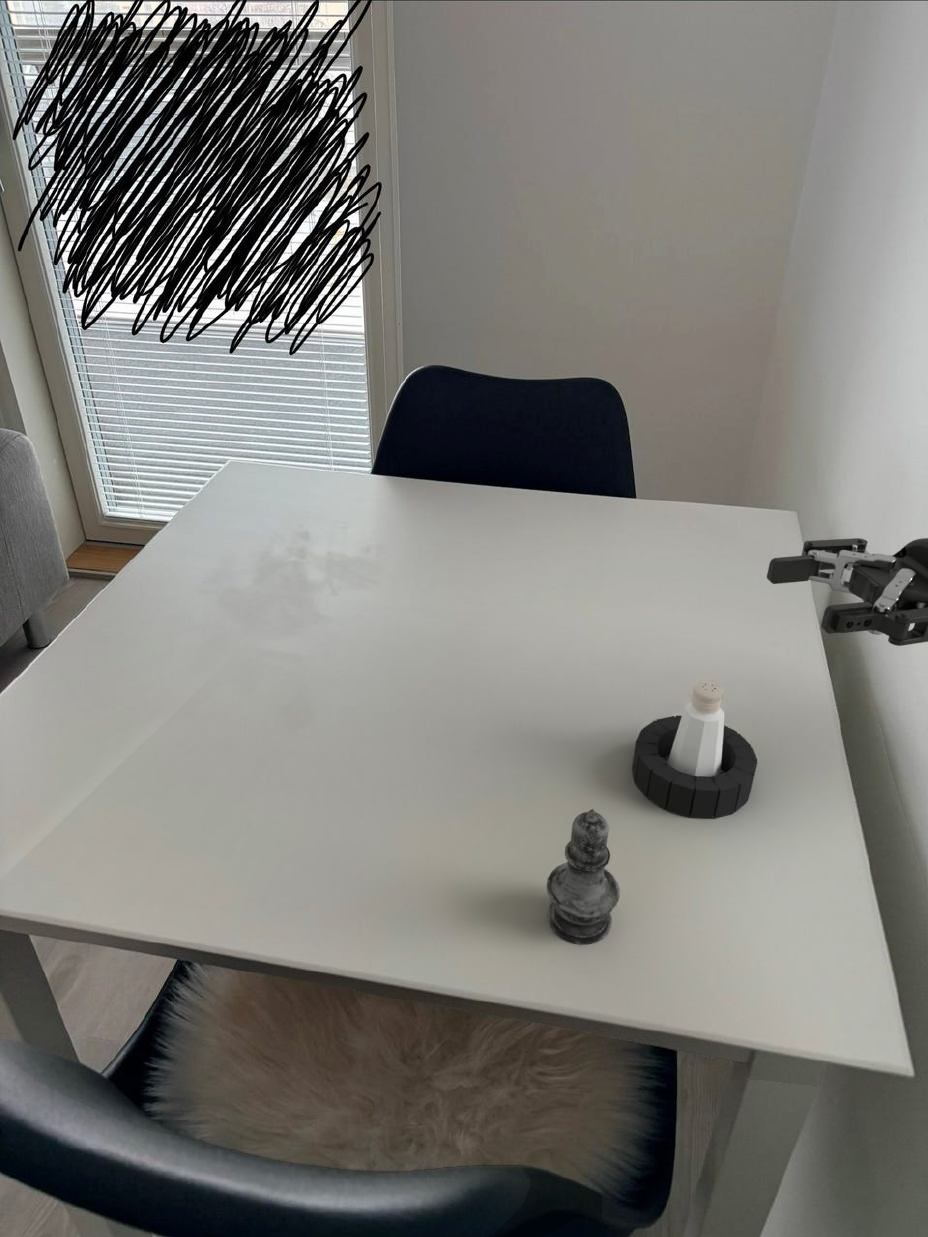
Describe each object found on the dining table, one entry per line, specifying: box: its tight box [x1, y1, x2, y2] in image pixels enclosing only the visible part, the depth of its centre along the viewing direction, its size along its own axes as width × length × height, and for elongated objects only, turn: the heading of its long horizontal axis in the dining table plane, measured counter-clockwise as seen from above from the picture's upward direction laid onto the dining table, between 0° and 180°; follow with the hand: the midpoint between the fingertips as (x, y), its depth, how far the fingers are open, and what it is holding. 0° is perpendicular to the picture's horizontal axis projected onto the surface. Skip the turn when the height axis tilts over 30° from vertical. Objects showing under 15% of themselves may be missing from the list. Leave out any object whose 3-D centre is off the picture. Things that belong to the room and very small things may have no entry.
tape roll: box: [631, 715, 758, 820], centre depth 87 cm, size 12×12×4 cm
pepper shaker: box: [666, 680, 725, 777], centre depth 85 cm, size 5×5×11 cm
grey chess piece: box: [546, 808, 621, 945], centre depth 69 cm, size 6×6×12 cm
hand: (796, 594), depth 72 cm, fingers open, 8 cm apart
